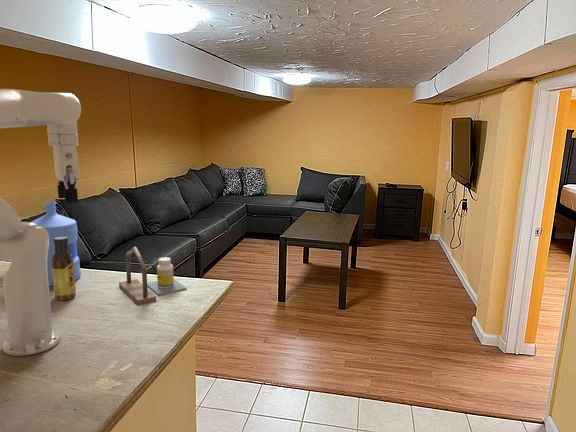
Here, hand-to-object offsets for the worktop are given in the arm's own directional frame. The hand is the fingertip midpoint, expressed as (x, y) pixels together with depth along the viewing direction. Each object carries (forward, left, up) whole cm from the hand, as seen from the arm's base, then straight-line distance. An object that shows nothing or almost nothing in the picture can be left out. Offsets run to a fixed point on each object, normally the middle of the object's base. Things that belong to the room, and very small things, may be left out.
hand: (68, 200), depth 125 cm
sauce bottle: (+10, +1, -34) cm, 35 cm away
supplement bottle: (+1, -29, -33) cm, 44 cm away
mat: (+1, -29, -33) cm, 44 cm away
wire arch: (+1, -19, -33) cm, 38 cm away
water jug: (+30, 0, -34) cm, 45 cm away
